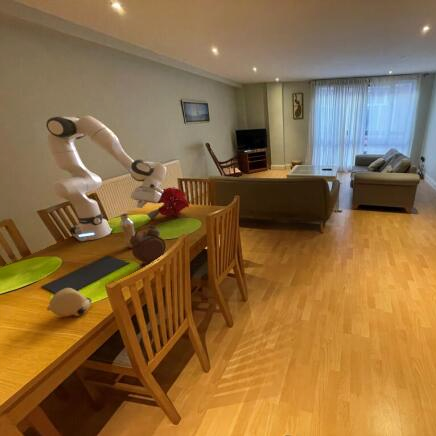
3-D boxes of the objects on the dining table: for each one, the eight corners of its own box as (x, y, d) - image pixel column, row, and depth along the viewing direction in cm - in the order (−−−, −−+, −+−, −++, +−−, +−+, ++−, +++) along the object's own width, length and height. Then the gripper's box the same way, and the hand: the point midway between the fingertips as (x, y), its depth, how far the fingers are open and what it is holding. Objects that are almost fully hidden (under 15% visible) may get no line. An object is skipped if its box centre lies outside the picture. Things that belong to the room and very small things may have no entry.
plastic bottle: (130, 250, 137) (120, 218, 129) (124, 247, 140) (114, 215, 132) (142, 245, 142) (133, 214, 134) (136, 242, 145) (127, 212, 137)
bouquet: (159, 232, 173) (193, 207, 177) (133, 207, 163) (170, 182, 167) (162, 223, 192) (193, 201, 196) (139, 200, 182) (173, 177, 186)
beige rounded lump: (70, 328, 90) (87, 311, 88) (35, 314, 85) (52, 295, 83) (86, 309, 99) (101, 293, 97) (55, 294, 94) (70, 277, 92)
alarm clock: (161, 253, 133) (152, 220, 125) (169, 256, 130) (161, 223, 122) (134, 266, 122) (123, 231, 114) (142, 270, 118) (131, 234, 110)
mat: (41, 286, 108) (41, 286, 107) (107, 256, 131) (107, 255, 131) (64, 297, 101) (63, 296, 101) (128, 263, 124) (128, 262, 124)
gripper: (134, 183, 146) (122, 203, 142) (157, 186, 138) (146, 207, 134) (142, 188, 152) (132, 207, 147) (165, 191, 144) (155, 212, 140)
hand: (139, 207), depth 141 cm, fingers closed
